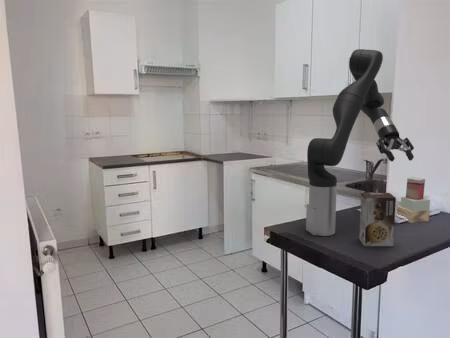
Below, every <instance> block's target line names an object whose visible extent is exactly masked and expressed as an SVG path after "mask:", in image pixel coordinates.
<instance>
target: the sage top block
mask: <svg viewBox="0 0 450 338" xmlns="http://www.w3.org/2000/svg"><path fill="white" fill-rule="evenodd" d="M430 204H431V200H430V199H428V198H425V197H423V199H420V200H416V199H411V198H406V195H405V196H401V197H400V206H401V207H403V208H406V209H408V210H411V211H425V210H430V207H431V206H430Z"/></svg>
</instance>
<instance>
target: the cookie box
mask: <svg viewBox="0 0 450 338" xmlns="http://www.w3.org/2000/svg"><path fill="white" fill-rule="evenodd" d="M396 201H397V198H396V196H394V194H392V193H390V192H361V193H360V211H359V212H360V215H359V216H360V218H359V237H358V238H359V241H360V242H361V244H362V245H363V247H394V245H395V243H394V241H395V223H396V222H395V221H396V220H395V219H396Z"/></svg>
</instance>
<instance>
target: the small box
mask: <svg viewBox="0 0 450 338" xmlns="http://www.w3.org/2000/svg"><path fill="white" fill-rule="evenodd" d="M425 183H426V178H421V177H415V176H411V177H407V179H406V190H405V196H406V198H411V199H416V200H420V199H423V198H424V196H425V195H424V194H425V186H426V185H425Z"/></svg>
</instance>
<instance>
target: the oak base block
mask: <svg viewBox="0 0 450 338" xmlns="http://www.w3.org/2000/svg"><path fill="white" fill-rule="evenodd" d="M430 212H431V210H430V209H429V210H425V211H411V210H408V209H406V208H403V207H401V205H397V206H396V215H397V214H398V215H401V216H404V217H406V218H407V219H408V221H407V222H408V223H412V224H413V223H422V222H423V223H424V222H429V221H430Z"/></svg>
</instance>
